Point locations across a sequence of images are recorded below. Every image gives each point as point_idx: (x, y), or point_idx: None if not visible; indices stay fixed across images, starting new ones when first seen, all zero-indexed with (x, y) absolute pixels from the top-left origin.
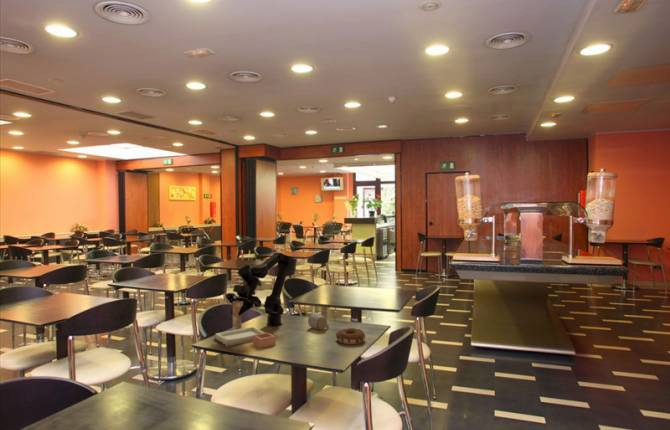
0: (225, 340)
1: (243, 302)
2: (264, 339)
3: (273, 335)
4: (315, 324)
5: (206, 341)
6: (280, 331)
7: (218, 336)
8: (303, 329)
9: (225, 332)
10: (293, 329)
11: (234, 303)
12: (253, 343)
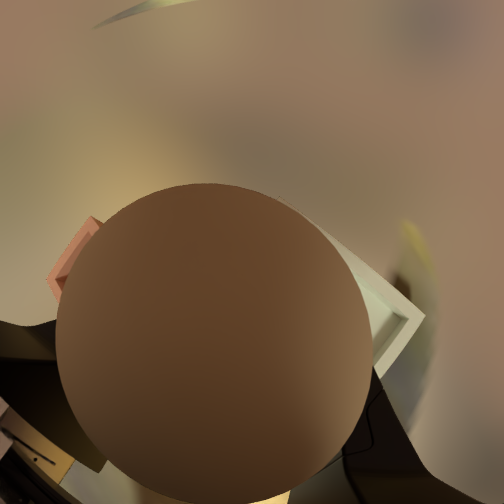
0: (298, 211)
1: (28, 352)
2: (80, 234)
3: (52, 289)
4: None
5: (429, 257)
6: (117, 481)
7: (388, 284)
8: (61, 484)
9: (378, 359)
10: (87, 494)
11: (227, 194)
12: None
